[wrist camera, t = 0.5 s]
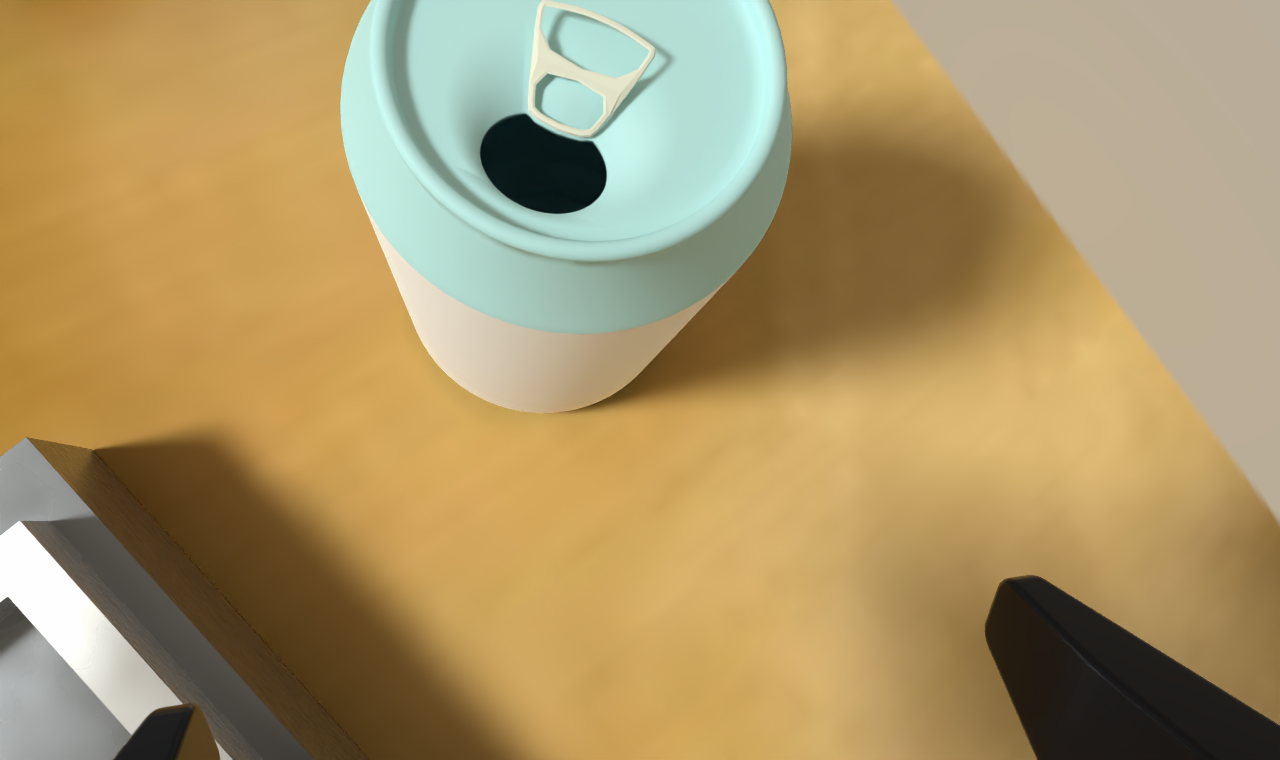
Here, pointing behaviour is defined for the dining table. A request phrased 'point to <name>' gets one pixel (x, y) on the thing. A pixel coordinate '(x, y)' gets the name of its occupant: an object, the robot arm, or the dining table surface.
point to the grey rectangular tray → (126, 628)
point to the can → (564, 176)
